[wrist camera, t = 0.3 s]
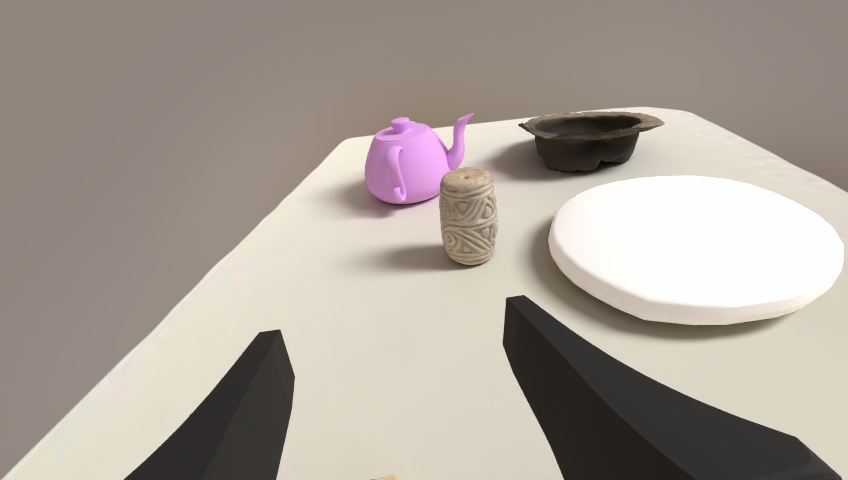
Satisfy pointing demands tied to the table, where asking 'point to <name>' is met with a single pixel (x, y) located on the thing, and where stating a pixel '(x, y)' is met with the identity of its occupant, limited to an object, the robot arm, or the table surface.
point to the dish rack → (387, 478)
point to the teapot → (411, 161)
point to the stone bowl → (588, 137)
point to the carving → (468, 215)
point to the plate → (695, 249)
